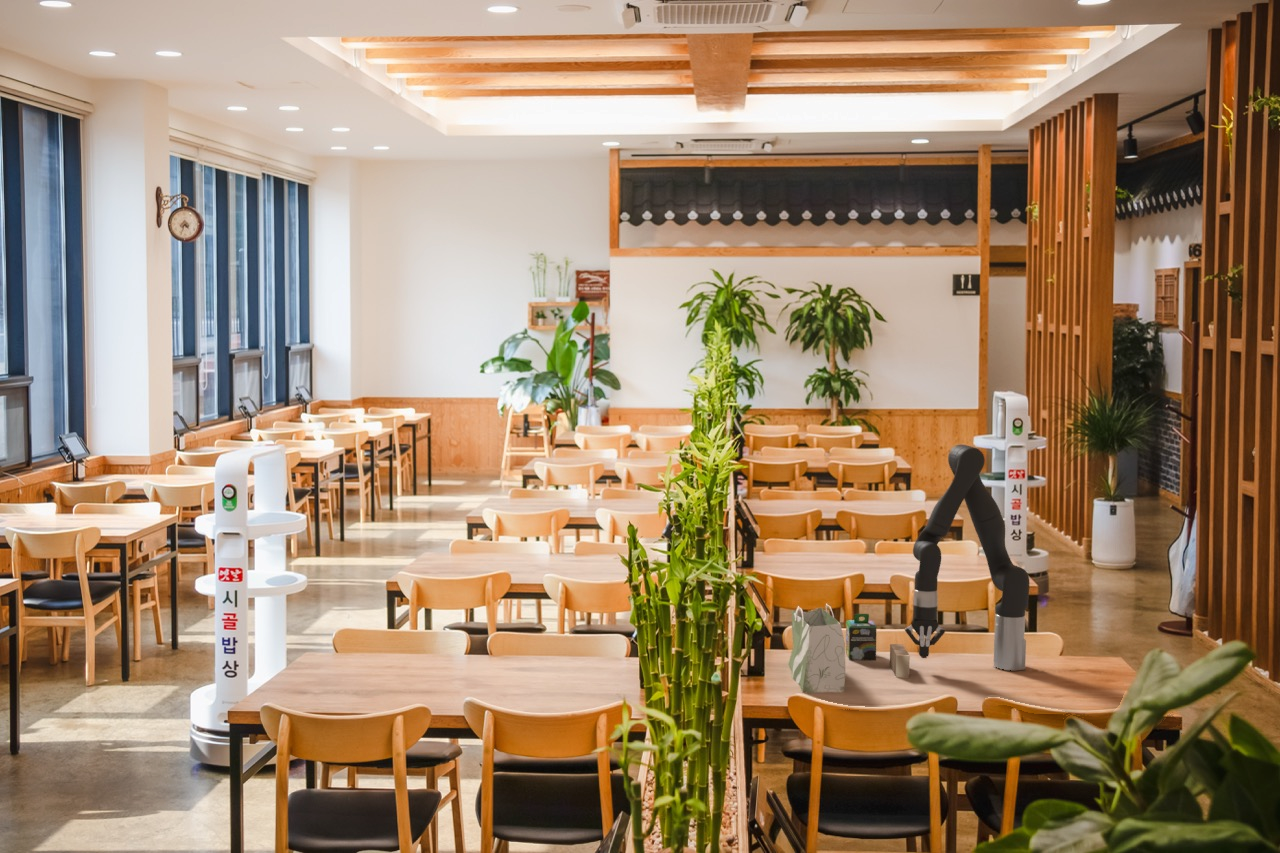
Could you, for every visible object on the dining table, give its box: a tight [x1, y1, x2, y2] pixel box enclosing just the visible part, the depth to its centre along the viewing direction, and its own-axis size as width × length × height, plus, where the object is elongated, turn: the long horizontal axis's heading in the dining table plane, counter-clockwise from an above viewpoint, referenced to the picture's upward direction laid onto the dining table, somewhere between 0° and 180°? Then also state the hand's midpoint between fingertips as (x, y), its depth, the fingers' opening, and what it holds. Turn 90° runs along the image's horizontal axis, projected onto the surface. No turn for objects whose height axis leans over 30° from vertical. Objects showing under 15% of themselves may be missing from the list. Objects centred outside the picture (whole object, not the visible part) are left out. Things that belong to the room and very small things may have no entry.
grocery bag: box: [787, 603, 846, 694], centre depth 404 cm, size 32×14×23 cm, turn 2°
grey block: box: [889, 643, 911, 679], centre depth 413 cm, size 4×7×14 cm
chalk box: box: [845, 613, 878, 661], centre depth 430 cm, size 9×9×15 cm
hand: (923, 657), depth 412 cm, fingers closed
